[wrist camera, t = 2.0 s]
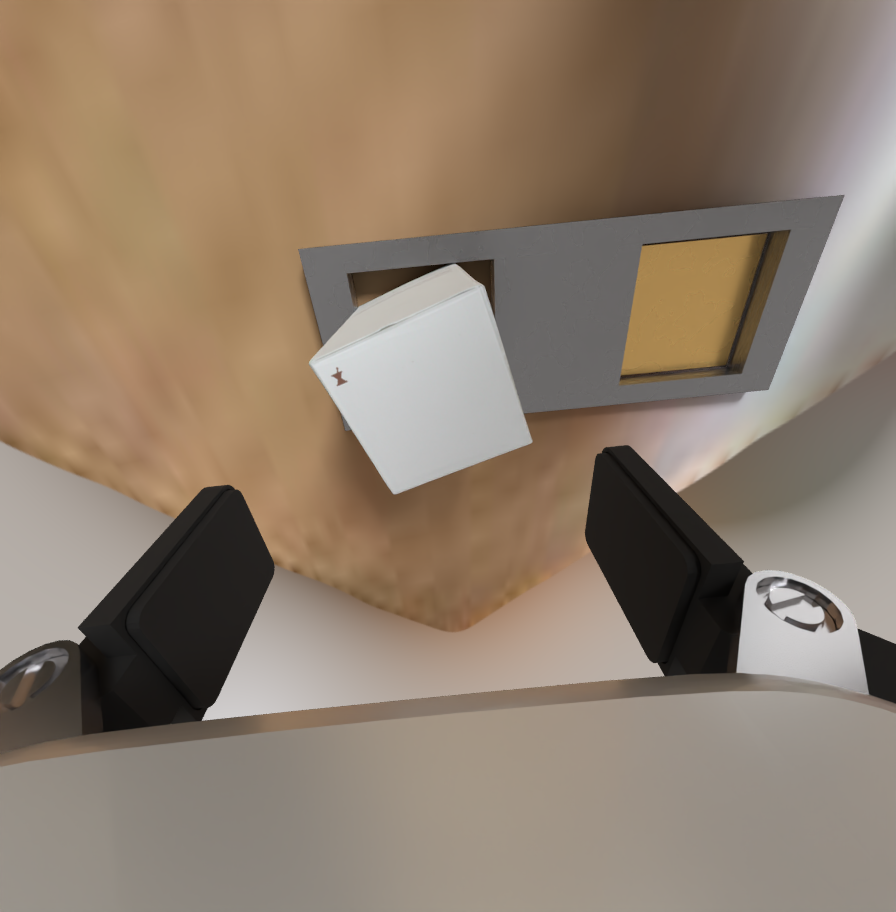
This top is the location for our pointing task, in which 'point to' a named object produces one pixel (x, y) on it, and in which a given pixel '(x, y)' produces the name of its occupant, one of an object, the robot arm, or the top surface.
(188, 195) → the top surface
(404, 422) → the supplement box
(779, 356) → the grey flat plate
